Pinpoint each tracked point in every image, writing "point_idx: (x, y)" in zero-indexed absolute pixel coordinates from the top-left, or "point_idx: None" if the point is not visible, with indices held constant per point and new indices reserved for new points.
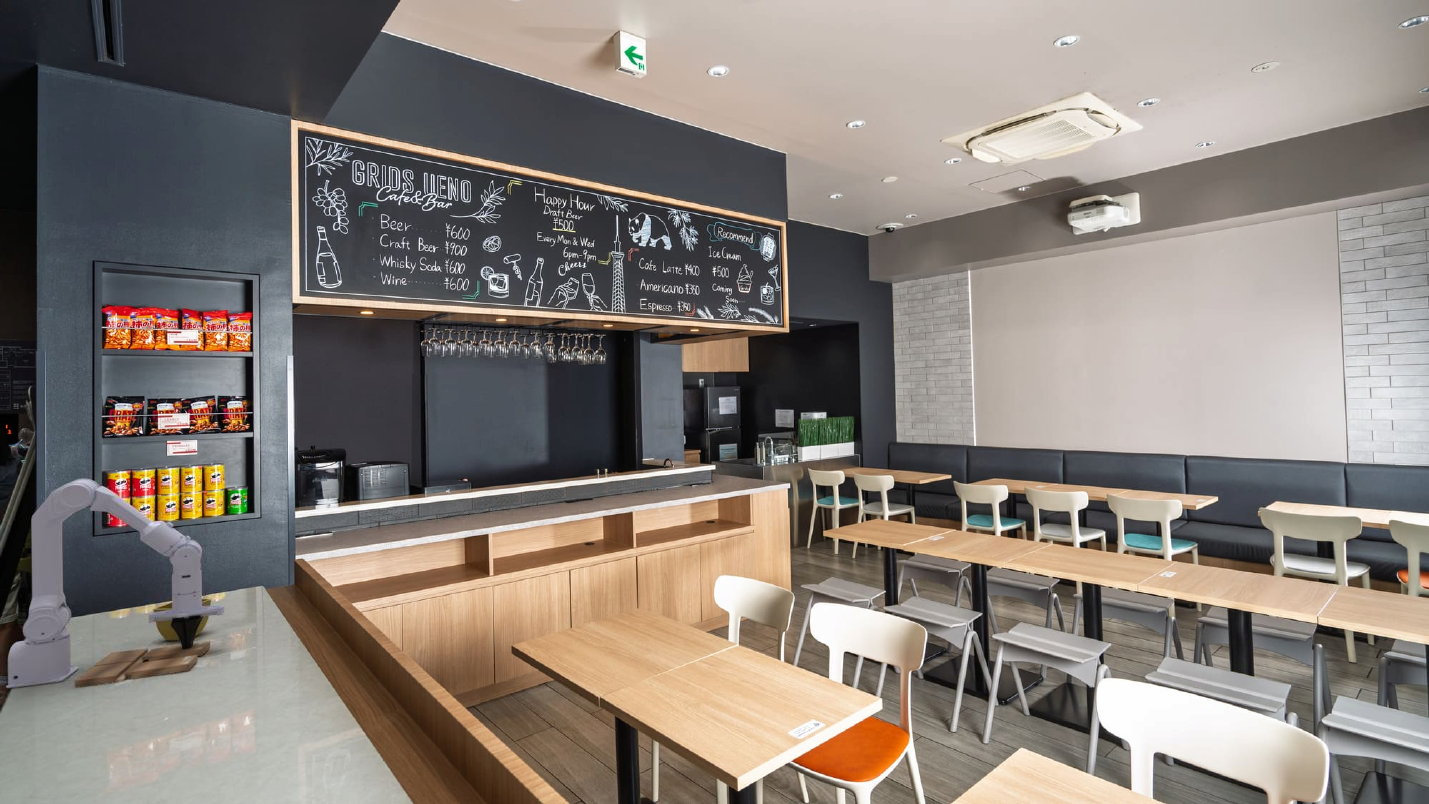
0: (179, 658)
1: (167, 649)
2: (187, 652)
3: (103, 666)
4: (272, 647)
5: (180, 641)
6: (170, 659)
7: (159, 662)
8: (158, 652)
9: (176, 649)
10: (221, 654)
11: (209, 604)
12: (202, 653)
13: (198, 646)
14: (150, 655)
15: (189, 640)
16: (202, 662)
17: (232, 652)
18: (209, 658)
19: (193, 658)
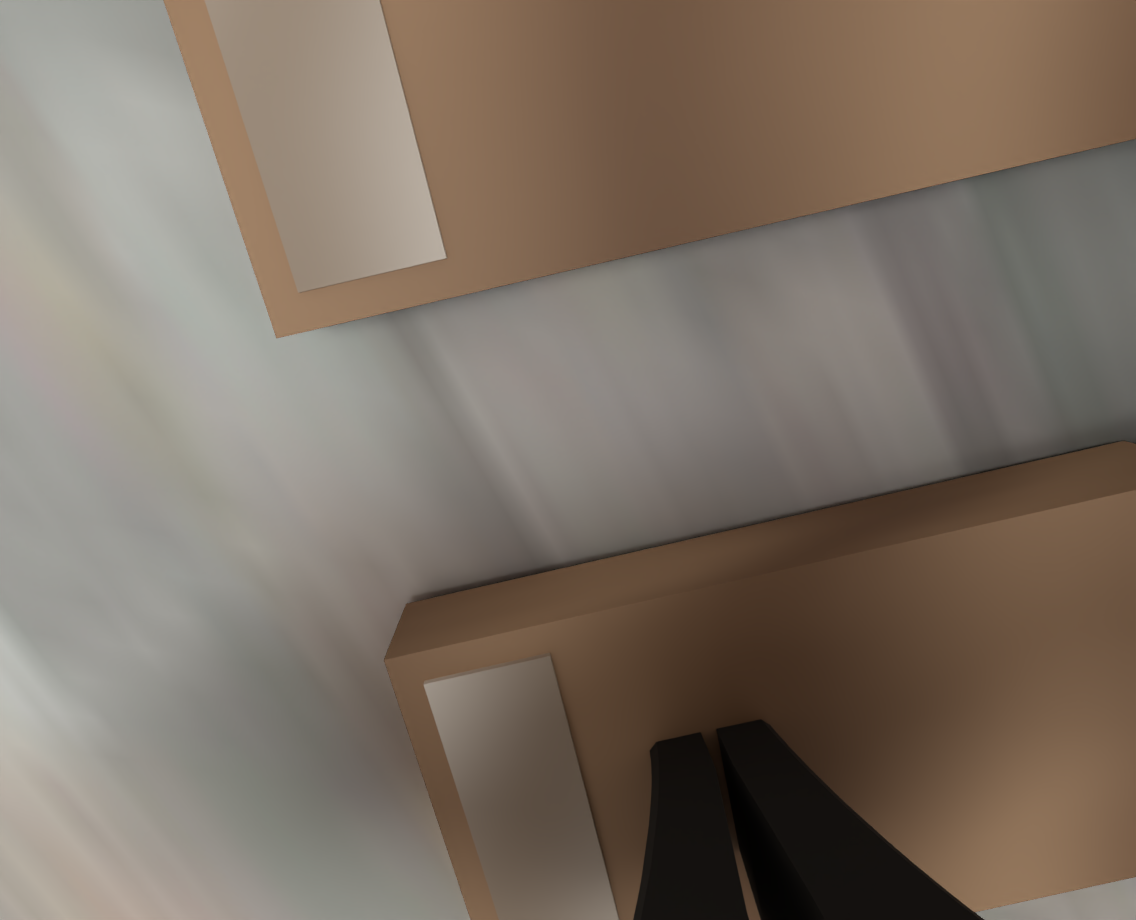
0: (544, 188)
1: (1031, 769)
2: (618, 599)
3: None
4: None
5: (851, 809)
6: (713, 169)
7: (863, 10)
8: (1125, 651)
9: (876, 743)
10: (157, 639)
11: None
12: (401, 620)
13: (547, 807)
14: None
15: (673, 846)
16: (229, 306)
17: (36, 698)
18: (235, 488)
19: (206, 102)
